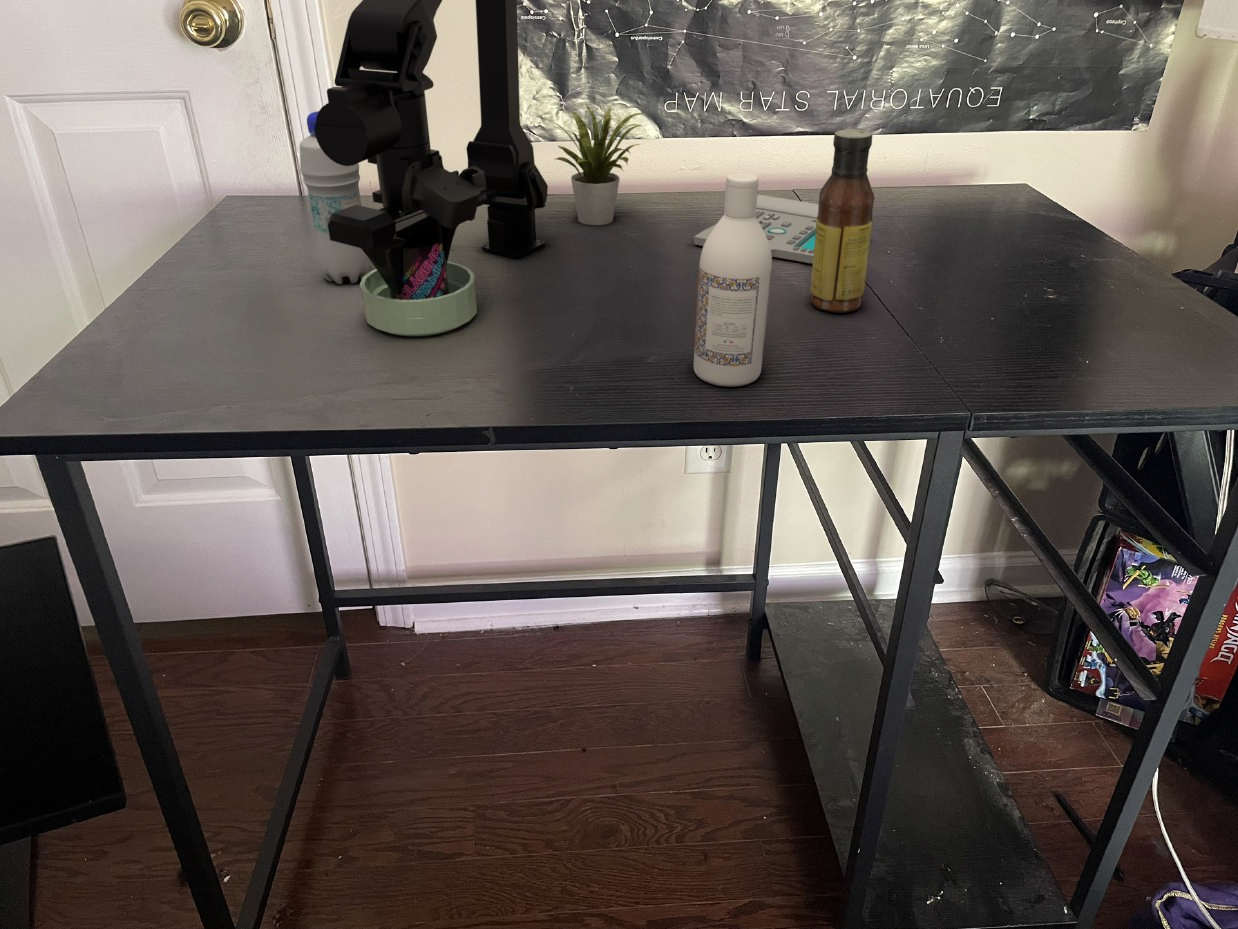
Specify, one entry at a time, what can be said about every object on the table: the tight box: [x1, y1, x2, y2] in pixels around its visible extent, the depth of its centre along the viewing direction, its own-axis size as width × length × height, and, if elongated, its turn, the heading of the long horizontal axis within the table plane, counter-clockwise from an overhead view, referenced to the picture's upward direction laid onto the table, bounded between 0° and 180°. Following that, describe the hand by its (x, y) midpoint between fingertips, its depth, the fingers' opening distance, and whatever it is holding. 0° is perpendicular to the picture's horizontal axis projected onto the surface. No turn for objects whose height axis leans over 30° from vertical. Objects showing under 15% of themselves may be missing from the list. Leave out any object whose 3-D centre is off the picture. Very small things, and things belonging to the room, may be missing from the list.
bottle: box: [299, 110, 372, 285], centre depth 108 cm, size 7×7×20 cm
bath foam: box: [693, 172, 773, 388], centre depth 87 cm, size 7×7×20 cm
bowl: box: [359, 260, 478, 337], centre depth 103 cm, size 13×13×4 cm
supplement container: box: [389, 213, 449, 300], centre depth 101 cm, size 7×7×10 cm
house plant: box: [547, 102, 646, 226], centre depth 129 cm, size 14×14×16 cm
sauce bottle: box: [809, 128, 875, 314], centre depth 103 cm, size 7×6×20 cm
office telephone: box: [693, 194, 819, 265], centre depth 128 cm, size 23×3×20 cm
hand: (418, 284), depth 102 cm, fingers closed on supplement container, 7 cm apart
